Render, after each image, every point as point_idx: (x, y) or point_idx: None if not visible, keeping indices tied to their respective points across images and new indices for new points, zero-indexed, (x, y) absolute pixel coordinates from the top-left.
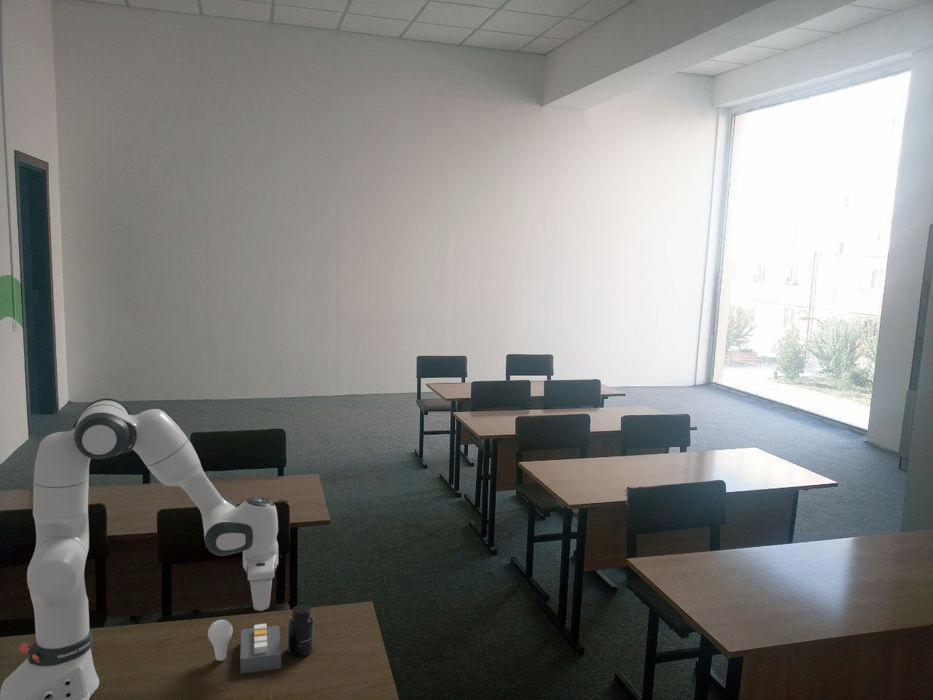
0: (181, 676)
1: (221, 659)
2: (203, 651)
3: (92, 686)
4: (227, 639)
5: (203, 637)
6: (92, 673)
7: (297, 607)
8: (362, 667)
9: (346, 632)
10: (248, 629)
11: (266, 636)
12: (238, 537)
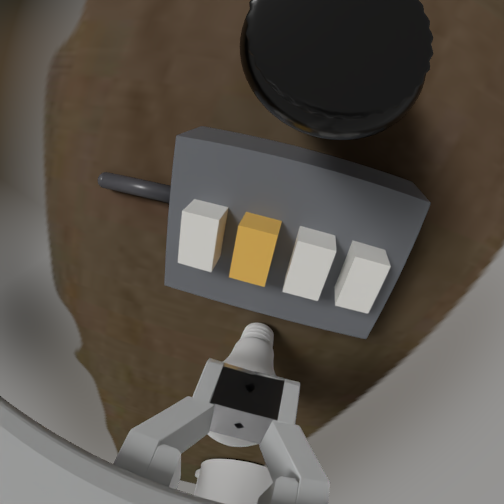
0: None
1: (273, 337)
2: (197, 345)
3: (265, 476)
4: None
5: (132, 326)
6: (251, 488)
7: (290, 52)
8: None
9: None
10: (171, 263)
11: (306, 245)
12: None
